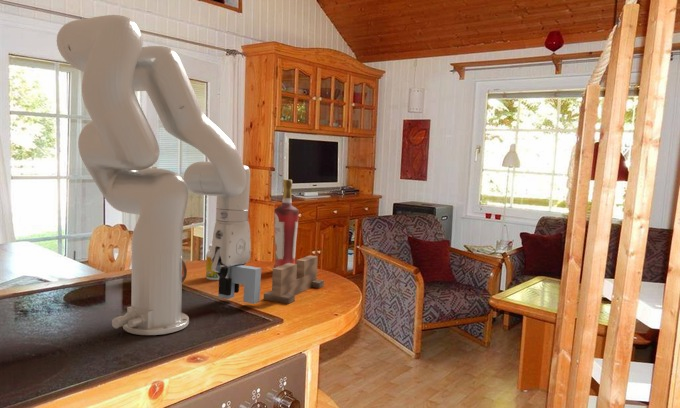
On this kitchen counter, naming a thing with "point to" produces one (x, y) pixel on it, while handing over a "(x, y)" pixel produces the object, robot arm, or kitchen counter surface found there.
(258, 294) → the blue slotted plate
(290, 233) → the liquor
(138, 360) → the kitchen counter surface
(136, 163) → the robot arm
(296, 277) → the walnut slotted rail
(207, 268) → the supplement bottle
